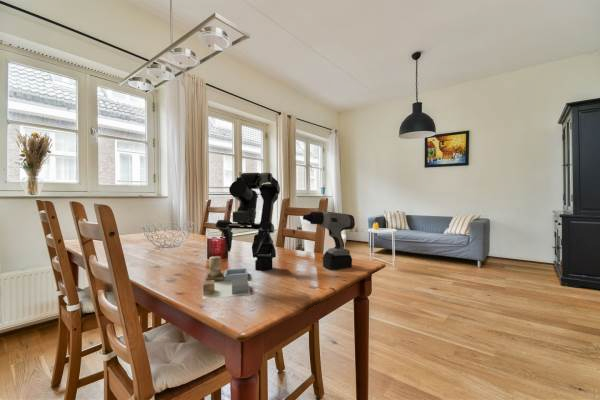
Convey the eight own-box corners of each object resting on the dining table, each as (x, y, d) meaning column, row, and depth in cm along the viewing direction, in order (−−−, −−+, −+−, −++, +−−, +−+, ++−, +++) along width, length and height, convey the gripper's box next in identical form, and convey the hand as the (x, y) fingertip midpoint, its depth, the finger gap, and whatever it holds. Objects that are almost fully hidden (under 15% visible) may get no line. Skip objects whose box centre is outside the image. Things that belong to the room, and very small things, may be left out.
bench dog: (214, 289, 85) (214, 280, 85) (213, 294, 81) (213, 283, 81) (204, 290, 84) (204, 280, 84) (203, 295, 81) (203, 284, 81)
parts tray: (246, 273, 103) (246, 268, 103) (247, 279, 96) (247, 273, 96) (225, 275, 101) (225, 269, 101) (224, 281, 94) (224, 275, 94)
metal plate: (247, 285, 89) (247, 278, 89) (248, 292, 82) (248, 284, 82) (232, 286, 88) (232, 279, 88) (231, 294, 81) (231, 286, 81)
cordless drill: (300, 269, 114) (299, 211, 113) (347, 263, 123) (347, 209, 123) (307, 273, 107) (307, 212, 106) (357, 267, 116) (357, 210, 116)
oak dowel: (221, 277, 99) (221, 255, 99) (220, 280, 95) (220, 258, 95) (209, 278, 98) (209, 256, 98) (209, 281, 94) (208, 259, 94)
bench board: (246, 275, 105) (246, 272, 105) (250, 298, 81) (250, 294, 81) (209, 277, 102) (209, 274, 102) (202, 302, 78) (202, 298, 78)
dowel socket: (224, 276, 100) (224, 272, 100) (223, 281, 94) (223, 276, 94) (207, 277, 98) (207, 273, 98) (205, 282, 93) (205, 278, 93)
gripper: (212, 198, 84) (205, 247, 79) (270, 200, 83) (266, 250, 78) (224, 208, 95) (218, 252, 90) (275, 209, 93) (272, 254, 89)
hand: (242, 252), depth 86 cm, fingers open, 9 cm apart
